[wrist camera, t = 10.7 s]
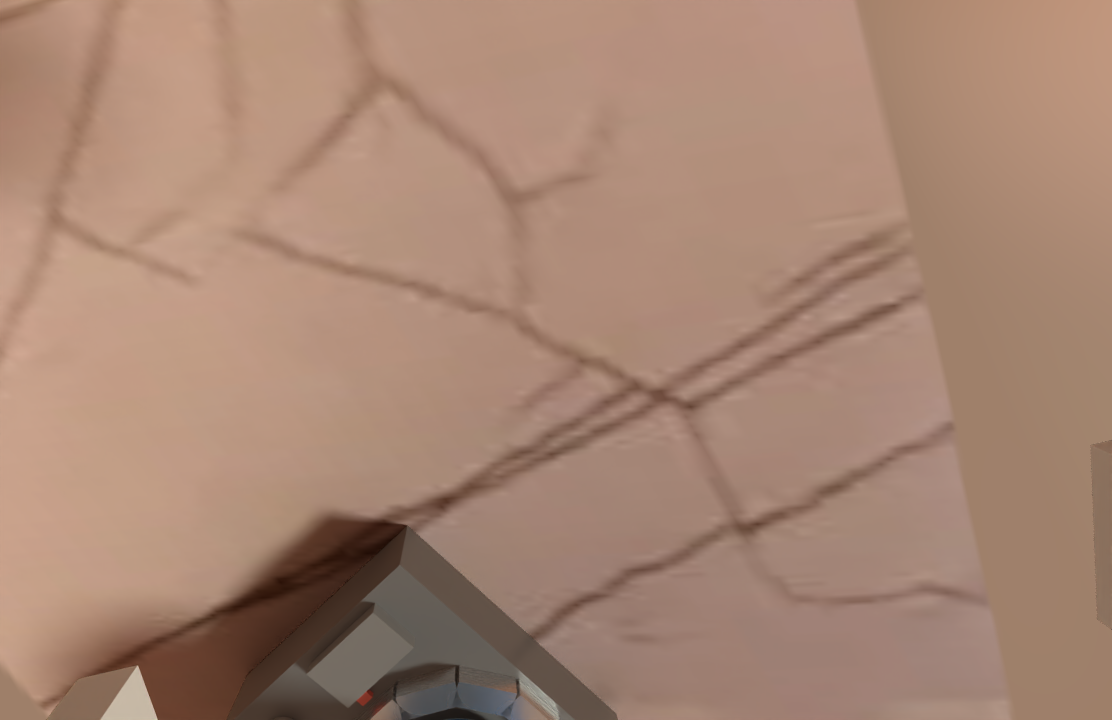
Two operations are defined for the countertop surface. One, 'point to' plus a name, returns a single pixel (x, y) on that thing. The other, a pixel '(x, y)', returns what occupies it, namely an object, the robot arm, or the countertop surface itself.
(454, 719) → the beverage can
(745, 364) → the countertop surface
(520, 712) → the mount ring
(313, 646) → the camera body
